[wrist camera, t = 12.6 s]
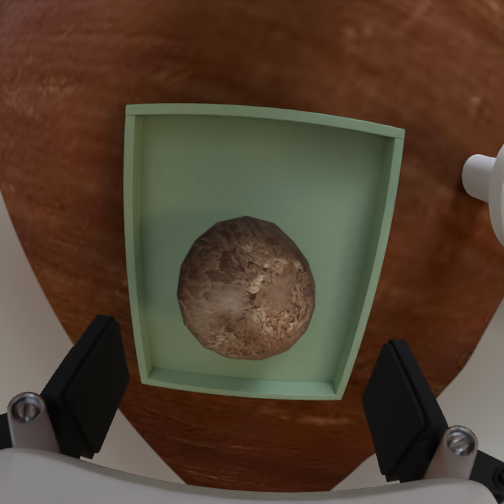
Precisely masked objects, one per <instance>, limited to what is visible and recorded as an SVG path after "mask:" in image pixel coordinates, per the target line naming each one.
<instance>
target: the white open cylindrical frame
mask: <svg viewBox="0 0 504 504" xmlns="http://www.w3.org/2000/svg"><path fill="white" fill-rule="evenodd" d="M462 183H463V186H464V189H465V190H466V192H467V193H468V194H469V195H470V196H472V197H475V198H477V199H480V200H483V201H485V202H487V203H489V213H490V219H491V224H492V227H493V230H494V232H495V235H496V237H497V238H498V240H499V241H500V243H501V244H502V245H503V246H504V145H503V146H502V148H501V150H500V151H499V153H498V155H497V158H492V157H487V156H483V155H473V156H471V157H469V158H468V159H467V161H466V162H465V164H464V166H463V170H462Z"/></svg>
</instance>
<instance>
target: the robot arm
mask: <svg viewBox="0 0 504 504" xmlns="http://www.w3.org/2000/svg"><path fill="white" fill-rule="evenodd" d="M128 383H129V372H128V368H127V363H126V358H125V353H124V348H123V343H122V337H121V332H120V326H119V323H118V322H117V321H115V319H114V317H112V316H106V315H101V314H99V315H97V316H96V317H95V318H94V320H93V321H92V323H91V324H90V325H89V327H88V328H87V329H86V331H85V332H84V333H83V335H82V336H81V338H80V339H79V340H78V342H77V343H76V345H75V346H73V347H72V348H71V350H70V351H69V353H68V354H67V355H66V357H65V358H64V360H63V361H62V363H61V364H60V365H59V367H58V369H57V370H56V371H55V373H54V374H53V376H52V377H51V379H50V380H49V382H48V383H47V385H46V386H45V388H44V389H43V391H42V392H41V394H40V395H38V394H36V393H33V392H24V393H21V394H18V395H16V396H15V397H13V398H12V400H11V401H10V402H9V405H8V407H7V413H5V414H2V415H0V504H504V462H502V461H500V460H498V459H496V458H494V457H492V456H489V455H488V454H486V453H484V452H482V451H480V450H478V440H477V437H476V436H475V434H474V433H473V432H472V431H471V430H470V429H468V428H466V427H464V426H460V425H457V426H456V425H455V426H452V427H448V425H447V422H446V419H445V417H444V415H443V413H442V411H441V409H440V407H439V405H438V403H437V400H436V398H435V396H434V394H433V392H432V390H431V388H430V386H429V384H428V382H427V380H426V378H425V376H424V375H423V373H422V371H421V369H420V367H419V365H418V363H417V361H416V359H415V357H414V355H413V354H412V352H411V350H410V348H409V346H408V344H407V342H406V341H405V340H389V341H388V342H387V344H384V345H383V346H382V349H381V352H380V354H379V357H378V359H377V362H376V364H375V367H374V369H373V372H372V374H371V377H370V379H369V381H368V384H367V386H366V388H365V391H364V393H363V396H362V404H363V407H364V411H365V415H366V418H367V422H368V425H369V429H370V433H371V437H372V440H373V444H374V448H375V452H376V456H377V460H378V464H379V468H380V471H381V474H382V475H385V477H386V480H387V482H391V481H397V480H399V481H400V483H399V484H392V485H385V486H378V487H369V488H361V489H352V490H340V491H325V492H290V493H285V492H252V491H237V490H225V489H215V488H207V487H199V486H192V485H185V484H179V483H173V482H168V481H162V480H157V479H152V478H148V477H143V476H139V475H135V474H131V473H127V472H123V471H119V470H115V469H111V468H107V467H103V466H100V465H96V464H93V463H90V462H86V461H83V460H80V457H81V456H82V457H86V458H89V459H92V458H93V456H94V453H99V451H100V449H101V447H102V444H103V442H104V440H105V437H106V435H107V432H108V430H109V427H110V425H111V423H112V420H113V418H114V416H115V413H116V411H117V409H118V406H119V404H120V402H121V400H122V397H123V395H124V393H125V390H126V388H127V386H128Z"/></svg>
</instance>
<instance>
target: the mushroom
mask: <svg viewBox="0 0 504 504" xmlns="http://www.w3.org/2000/svg"><path fill="white" fill-rule="evenodd" d="M177 299H178V303H179V307H180V311H181V314H182V318H183V322H184V325H185V326H186V327H187V328H188V330H189V331H190V332H191V333H192V334H193V336H194V337H195V338H196V339H197V340H198V342H199V343H200V344H201V345H202V346H203V347H204V348H206V349H209V350H211V351H213V352H215V353H217V354H220V355H222V356H224V357H226V358H229V359H240V360H256V361H257V360H263V359H266V358H269V357H272V356H275V355H278V354H281V353H283V352H286V351H288V350H289V349H290V348H291V347H292V346H293V345H294V344H295V343H296V342H297V341H298V340H299V339H300V337H301V336H302V335H303V334H304V333H305V332H306V331H307V329H308V326H309V324H310V321H311V318H312V315H313V312H314V309H315V281H314V278H313V275H312V272H311V269H310V266H309V263H308V260H307V259H306V258H305V256H304V255H303V253H302V252H301V251H300V249H299V248H298V246H297V245H296V244H295V242H294V241H293V240H292V239H291V238H290V237H289V236H288V235H287V234H286V233H284V232H283V231H282V230H281V229H280V228H279V227H278V226H277V225H276V224H275V223H272V222H269V221H265V220H261V219H257V218H253V217H250V216H242V217H238V218H233V219H229V220H225V221H220V222H216V223H215V224H214V225H213V226H211V227H210V228H209V229H208V230H207V231H205V232H204V233H203V234H202V235H201V236H199V237H198V238H197V239H196V240H195V241H194V243H193V244H192V246H191V248H190V250H189V252H188V253H187V255H186V257H185V259H184V260H183V262H182V264H181V267H180V274H179V281H178V288H177Z"/></svg>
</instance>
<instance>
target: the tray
mask: <svg viewBox="0 0 504 504" xmlns="http://www.w3.org/2000/svg"><path fill="white" fill-rule="evenodd" d="M126 115H127V116H126V117H125V137H124V228H125V248H126V263H127V276H128V288H129V298H130V307H131V316H132V324H133V332H134V339H135V346H136V353H137V359H138V366H139V372H140V377H141V383H142V384H148V385H154V386H159V387H166V388H172V389H179V390H186V391H193V392H201V393H209V394H218V395H228V396H239V397H252V398H268V399H290V400H341V399H342V396H343V394H344V391H345V388H346V386H347V383H348V380H349V377H350V374H351V371H352V368H353V365H354V362H355V359H356V356H357V353H358V350H359V347H360V344H361V341H362V338H363V334H364V331H365V328H366V324H367V321H368V317H369V314H370V310H371V307H372V303H373V299H374V296H375V292H376V288H377V284H378V280H379V276H380V272H381V268H382V264H383V259H384V255H385V250H386V246H387V241H388V236H389V231H390V226H391V221H392V216H393V211H394V205H395V199H396V193H397V187H398V181H399V174H400V167H401V160H402V152H403V144H404V135H405V130H404V129H399V128H395V127H391V126H386V125H381V124H377V123H372V122H367V121H361V120H356V119H350V118H345V117H339V116H332V115H326V114H319V113H312V112H304V111H296V110H288V109H278V108H268V107H256V106H242V105H224V104H190V103H166V104H133V105H126ZM242 216H250V217H253V218H257V219H261V220H265V221H269V222H272V223H275V224H276V225H277V226H278V227H279V228H280V229H281V230H282V231H283V232H284V233H286V234H287V235H288V236H289V237H290V238H291V239H292V240H293V241H294V242H295V244H296V245H297V246H298V248H299V249H300V251H301V252H302V253H303V255H304V256H305V258H306V259H307V260H308V263H309V266H310V269H311V272H312V275H313V278H314V281H315V309H314V312H313V315H312V318H311V321H310V324H309V326H308V329H307V331H306V332H305V333H304V334H303V335H302V336H301V337H300V339H299V340H298V341H297V342H296V343H295V344H294V345H293V346H292V347H291V348H290V349H289V350H288V351H286V352H283V353H281V354H278V355H275V356H272V357H269V358H266V359H263V360H257V361H256V360H240V359H229V358H226V357H224V356H222V355H220V354H217V353H215V352H213V351H211V350H209V349H206V348H204V347H203V346H202V345H201V344H200V343H199V342H198V340H197V339H196V338H195V337H194V336H193V334H192V333H191V332H190V331H189V330H188V328H187V327H186V326H185V325H184V322H183V318H182V314H181V311H180V307H179V303H178V299H177V288H178V281H179V274H180V267H181V264H182V262H183V260H184V259H185V257H186V255H187V253H188V252H189V250H190V248H191V246H192V244H193V243H194V241H195V240H196V239H197V238H198V237H199V236H201V235H202V234H203V233H204V232H205V231H207V230H208V229H209V228H210V227H211V226H213V225H214V224H215V223H216V222H220V221H225V220H229V219H233V218H238V217H242Z"/></svg>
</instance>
